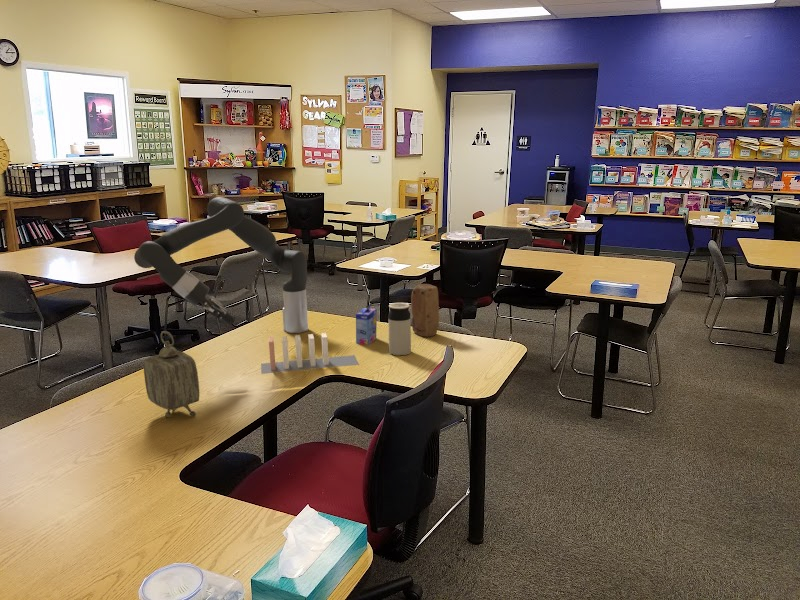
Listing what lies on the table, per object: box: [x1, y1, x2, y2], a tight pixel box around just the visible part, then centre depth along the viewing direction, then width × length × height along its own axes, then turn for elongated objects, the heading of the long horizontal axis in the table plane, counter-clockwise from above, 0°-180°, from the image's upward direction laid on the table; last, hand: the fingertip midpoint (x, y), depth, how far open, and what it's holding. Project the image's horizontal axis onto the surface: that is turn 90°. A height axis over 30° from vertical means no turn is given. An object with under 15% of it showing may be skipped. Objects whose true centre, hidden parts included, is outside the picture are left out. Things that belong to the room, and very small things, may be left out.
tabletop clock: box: [143, 330, 200, 419], centre depth 176 cm, size 14×9×25 cm, turn 48°
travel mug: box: [388, 302, 412, 356], centre depth 226 cm, size 8×8×18 cm
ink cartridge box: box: [355, 304, 378, 345], centre depth 240 cm, size 10×6×14 cm, turn 163°
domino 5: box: [320, 332, 329, 365], centre depth 216 cm, size 2×5×10 cm, turn 13°
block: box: [410, 283, 440, 338], centre depth 247 cm, size 11×8×20 cm
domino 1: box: [268, 337, 276, 370], centre depth 212 cm, size 2×5×10 cm, turn 13°
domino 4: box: [307, 333, 316, 366], centre depth 215 cm, size 2×5×10 cm, turn 13°
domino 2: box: [281, 335, 290, 369], centre depth 213 cm, size 2×5×10 cm, turn 13°
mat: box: [260, 354, 360, 375], centre depth 216 cm, size 33×10×1 cm, turn 103°
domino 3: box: [294, 334, 303, 368], centre depth 214 cm, size 2×5×10 cm, turn 13°
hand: (233, 321), depth 207 cm, fingers closed
